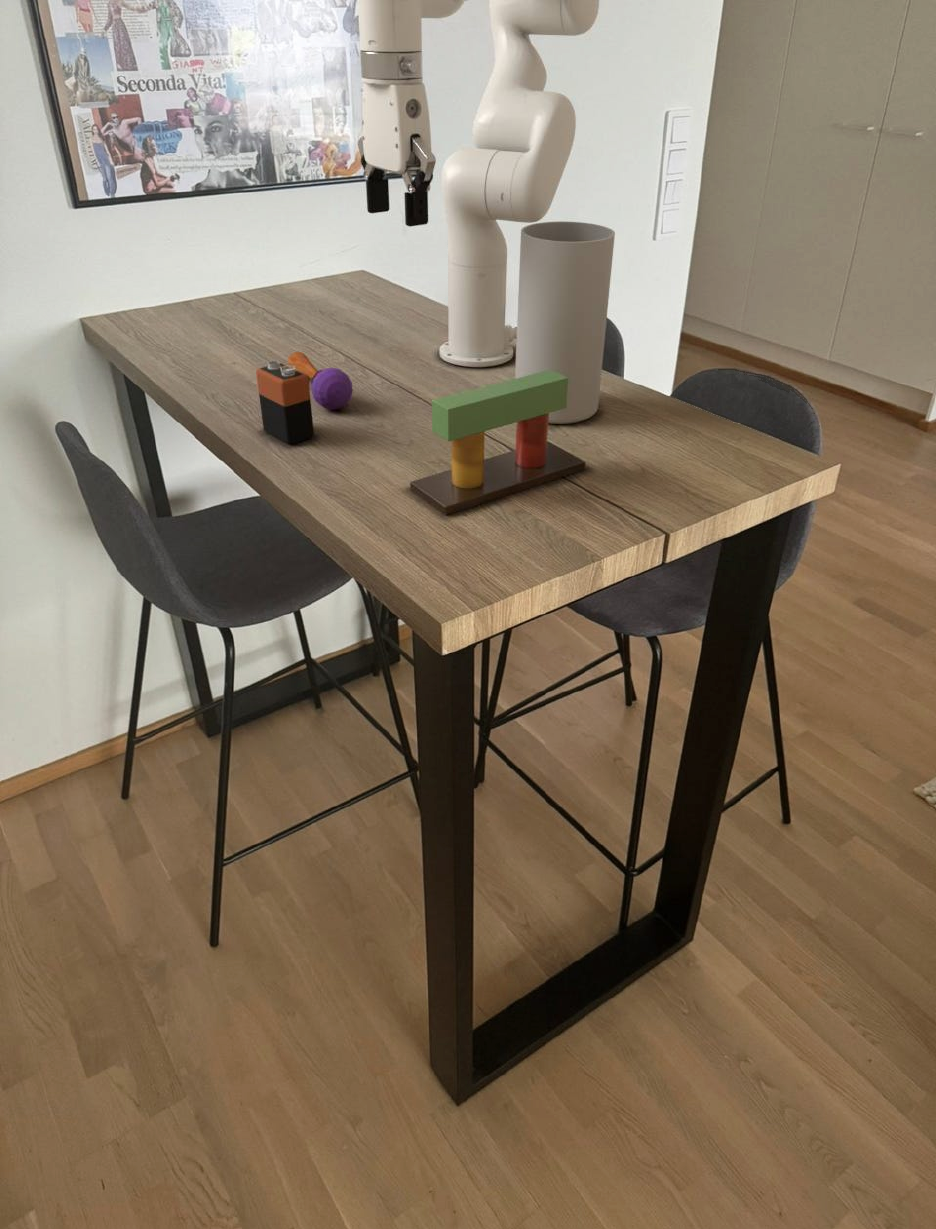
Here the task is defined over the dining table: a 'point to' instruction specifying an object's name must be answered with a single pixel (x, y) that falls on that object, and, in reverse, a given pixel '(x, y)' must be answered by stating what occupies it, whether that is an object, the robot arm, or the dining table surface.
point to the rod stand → (496, 469)
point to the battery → (285, 402)
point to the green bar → (498, 405)
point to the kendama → (324, 382)
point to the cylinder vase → (565, 309)
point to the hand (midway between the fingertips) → (397, 218)
